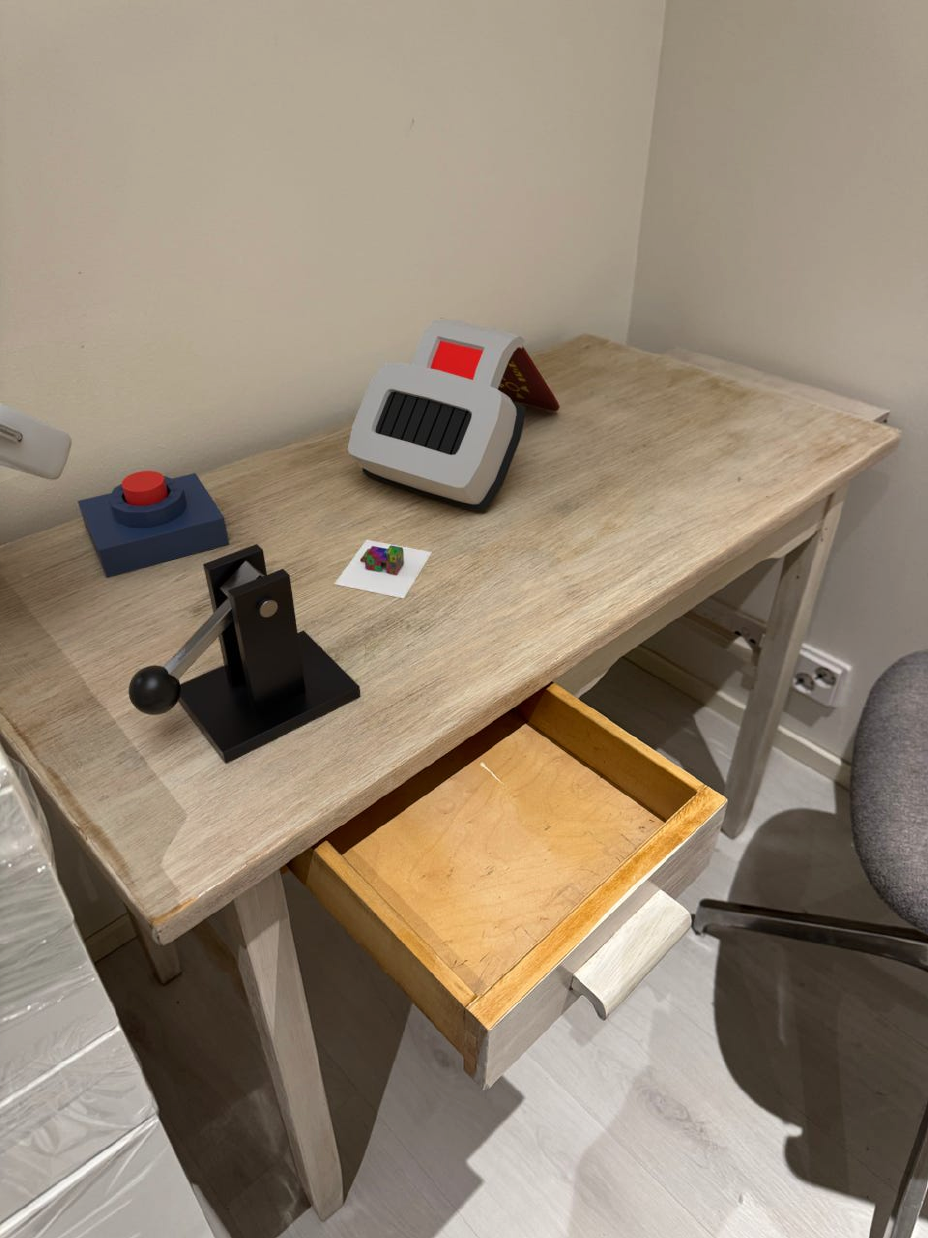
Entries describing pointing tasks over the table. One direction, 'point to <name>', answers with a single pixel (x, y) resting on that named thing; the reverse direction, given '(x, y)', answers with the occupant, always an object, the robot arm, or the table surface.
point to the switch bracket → (261, 665)
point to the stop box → (153, 526)
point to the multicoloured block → (384, 568)
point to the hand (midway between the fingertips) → (20, 453)
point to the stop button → (144, 488)
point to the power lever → (184, 655)
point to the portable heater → (449, 414)
